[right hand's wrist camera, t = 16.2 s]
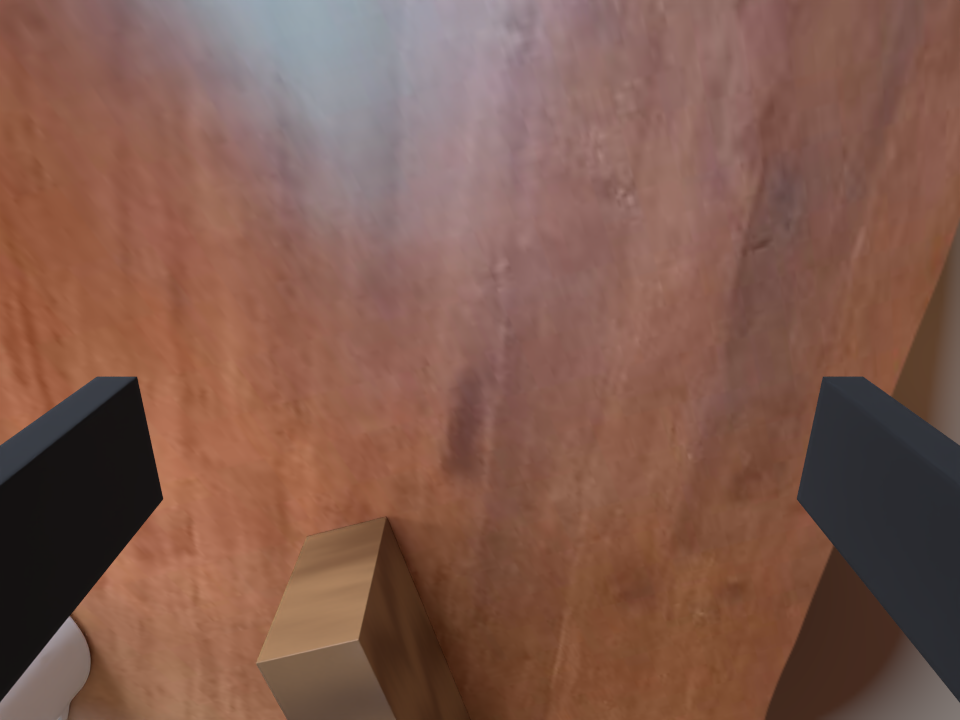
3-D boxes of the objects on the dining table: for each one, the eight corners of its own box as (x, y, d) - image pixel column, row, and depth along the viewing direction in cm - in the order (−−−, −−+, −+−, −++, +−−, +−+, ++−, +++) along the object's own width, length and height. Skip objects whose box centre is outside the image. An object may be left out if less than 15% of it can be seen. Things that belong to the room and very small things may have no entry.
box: (306, 536, 48) (255, 663, 37) (386, 516, 48) (358, 639, 37) (414, 762, 57) (398, 919, 46) (482, 748, 57) (483, 903, 46)
